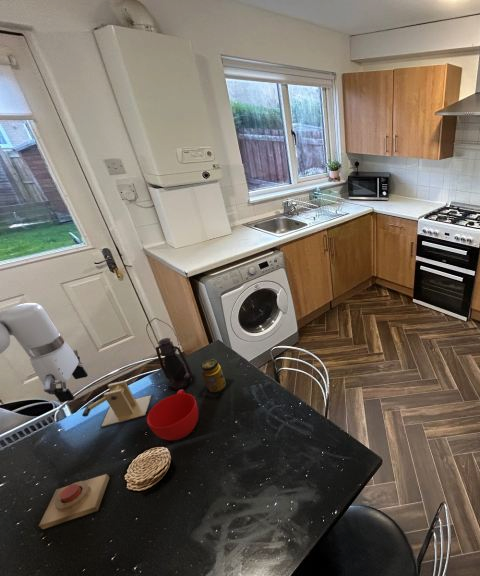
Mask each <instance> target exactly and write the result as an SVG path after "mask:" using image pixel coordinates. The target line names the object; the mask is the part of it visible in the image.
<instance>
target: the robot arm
mask: <svg viewBox="0 0 480 576" xmlns="http://www.w3.org/2000/svg"><path fill="white" fill-rule="evenodd" d="M11 336H13V337H14V338H15V340H16V341H17V342H18V344H19V345H20V346H21V348H22V349H23V350H24V352H25V353H26V354H27V356H28V357H29V360H30V364H31V366H32V369H33V371H34V372H35V374H36V376H37V377H38V379H39V380H40V382H41V383H42V385H43V392H44V393H46V394H48V395H54V396H55V398H56V399H57V400H58V401H59V402H60V403H65V402H70V401H74V400H75V399H76V398H75V396H74V394H73V393H72V392H71V390H70V389H69V388H67V382H68V380H69V379H70V378H71V376H72V377H73V379H74V380H80V379H84V378H87V377H88V376H89V374H88V372H87V371H86V369H85V368H84V366H83V363H82V362H81V358H80V356H79V352H78V350H77V349H74V350H73V349H72V348H71V347H70V345H69V344H68V343H67V342H66V341H65V339H64V338H63V337H62V334H61V333H60V331H59V330H58V329H57V327H56V326H55V324H54V323H53V321H52V319H51V318H50V316H49V315H48V313H47V311H46V310H45V309H44V307H43V306H42V305H41V304H40V303H37V302H36V303H35V302H26V303H21V304H18V305H14V306H12V307H10V308H8V309H3V310H0V354H2V353H4V352H5V351H6V350H7V349H8V348H9V347H10V344H11ZM58 385H60V387H57V386H58Z"/></svg>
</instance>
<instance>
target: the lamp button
mask: <svg viewBox="0 0 480 576" xmlns="http://www.w3.org/2000/svg"><path fill="white" fill-rule="evenodd" d="M69 485H70V486H69ZM69 485H67V486H68V487H66V486H65V487H66V488H65V489H64V490H63V491H62V492H61V494H60V499H61V500H62V501H63V502H65V503H67V502H71V501H72V500H74V499H76V498H77V497H78V496H79V495H80V493H81V491H82V490H81V488H80V487H79V486H78V485H77V484H73V483H72V485H71V484H69Z"/></svg>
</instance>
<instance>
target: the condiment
mask: <svg viewBox="0 0 480 576" xmlns="http://www.w3.org/2000/svg"><path fill="white" fill-rule="evenodd" d="M201 371H202V372H201V375H202V377H203V381H205V385H206V388H207V390H208V392H210V393H217V392H220V391H222V390H223V389H224V388H226V385H227V382H226V379H225V376H224V373H223V370H222V367H221V365H220V363H219V362H218V360H217V359H215V358H210V359H207V360H205V361H203V362H202V364H201Z"/></svg>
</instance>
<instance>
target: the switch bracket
mask: <svg viewBox="0 0 480 576" xmlns="http://www.w3.org/2000/svg"><path fill="white" fill-rule="evenodd" d="M118 385H119V386H121V387H123V388H124V392H123V391H122V390H121V389H119V390H115V391H111V392H110V390H111V389H113V388H114V387H116V386H118ZM107 388H108V389H109V391H108V392H107V391H106V392H104V393H103V397H105V398H106V402H107V403H108V405H109V407H108V409H107V412H106V414H105V417H104V419H103V422H102V423H101V428H103V427H106V426H107V427H108V426H110V425H114V424H119V423H122V422H126V421H130V420H133V419H137V418H140V417H143V416H146V414H147V411H148V408H149V405H150V402H151V399H152V395H151V394H150V395H146V396H142V397H137V398H135V396H134V394H133V392H132V391H131V389H130V387H129V385H128V383H127V381H126V380H121V381H117V382H112V383H109V384H107Z"/></svg>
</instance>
